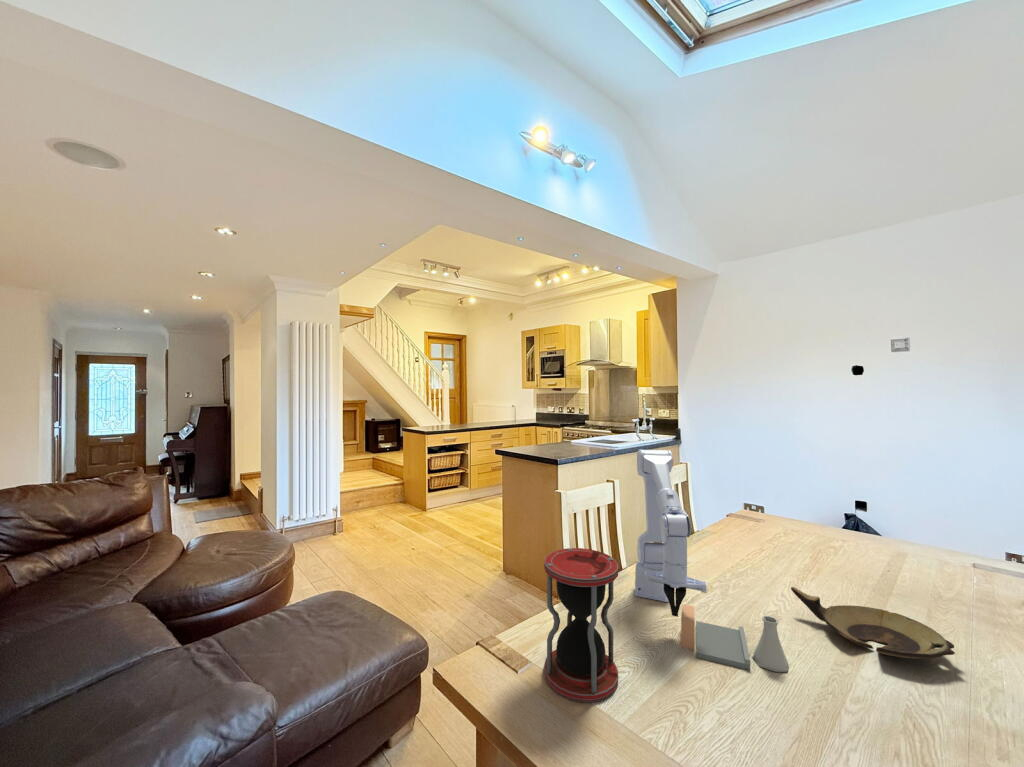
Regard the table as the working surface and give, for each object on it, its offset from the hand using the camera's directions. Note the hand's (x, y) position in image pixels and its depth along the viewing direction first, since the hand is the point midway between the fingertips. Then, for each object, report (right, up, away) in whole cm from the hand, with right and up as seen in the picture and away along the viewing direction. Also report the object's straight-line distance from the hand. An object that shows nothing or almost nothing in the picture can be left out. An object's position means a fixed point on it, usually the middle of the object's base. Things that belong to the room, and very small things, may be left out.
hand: (675, 614), depth 105 cm
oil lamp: (+49, -6, -1) cm, 49 cm away
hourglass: (-26, -6, -15) cm, 31 cm away
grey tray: (+10, -5, -4) cm, 12 cm away
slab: (+3, -6, -1) cm, 6 cm away
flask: (+18, -6, -10) cm, 21 cm away
